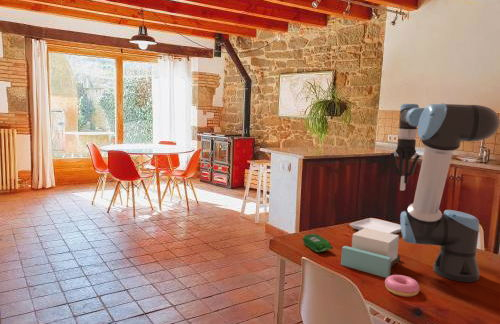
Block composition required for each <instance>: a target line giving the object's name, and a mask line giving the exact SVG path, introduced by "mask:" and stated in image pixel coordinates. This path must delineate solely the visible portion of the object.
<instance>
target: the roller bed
mask: <svg viewBox="0 0 500 324" xmlns="http://www.w3.org/2000/svg"><path fill="white" fill-rule="evenodd" d="M400 261H401V255H399V254H397V258H396V259H395V260H394V261H392V262H391V268H390V269H392V268H393V266H395V265H396V264H398V262H400Z"/></svg>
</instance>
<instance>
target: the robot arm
mask: <svg viewBox="0 0 500 324" xmlns="http://www.w3.org/2000/svg"><path fill="white" fill-rule="evenodd" d="M499 128H500V117H499V114H498V113H497V112H496V111H495V110H493V109H492V108H490V107H487V106H485V105H480V104H454V103H453V104H451V103H445V102H444V103H431V104H428V105H427V106H425V108H421V107H420V106H419V104H418V103H402V104H401V106H400V110H399V124H398V132H397V133H398V134H397V135H398V139H397V145H396V149H395V151H393V152H390V156H391V158H392V164H393V169H394V173H395V175H397V176H398V183H400V184H399V191H405V190H406V184H408V183H409V177H410V176H413V175H414V173H415V170H416V167H417V165H418V162H419V160H420V158H422V160H421V165H420V170H419V175H418V179H417V184H416V189H415V193H414V199H413V202H412V203H410V204H409V205H408V207H407V210H403V211H401V213H400V215H399V216H400V217H399V218H400V219H399V221H400V224H399V225H401V231H400V233H401V237H402V239H403V241H404V242H406V243H408V244H414V245H424V246H425V245H426V246H427V245H428V246H440V249H439V252H438V254H437V257H436V259H435V260H434V263H433V272H434V273H435V274H437V275H438V276H440V277H443V278H445V279H448V280H451V281H456V282H462V283H472V282H477V281H478V280H479V279H480V269H479V266H478V262H477V261H478V260H477V258H476V254H477V250H478V249H477V247H478V241H479V240H478V239H479V233H480V221H479V219H478V218H477V217H476V216H474V215H473V214H469V213H466V212H463V211H458V210H452V209H445V210H444V211H443V213H442V211H441V210H440V209H439V208H440V205H441V201H442V199H443V198H442V197H443V193H444V189H445V185H446V181H447V177H448V174H449V169H450V165H451V161H452V157H453V154H454V153H453V152H455V151H457V150H459V148H460V147H461V143H462V142H478V141H479V142H480V141H481V142H482V141H484V140H486V139H489V138H490V137H492V136H494V135H495V134H496V133H497V131H498V130H499ZM417 136H418V139H420V140H421V144H422V145H423V147H424V150H423V155H421V154H418V153H417V150H416V142H417V140H416V138H417ZM397 156H398V157H399V162H398V157H397ZM412 158H414V159H413V161H412V163H411V159H412ZM411 164H412V165H411Z"/></svg>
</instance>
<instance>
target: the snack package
mask: <svg viewBox="0 0 500 324" xmlns="http://www.w3.org/2000/svg"><path fill="white" fill-rule="evenodd" d="M301 240H302V241H303V244H304V245H305V246H306V247H308V248H309V249H311V250H312V251H314V252H316V253H322V252H326V251H328V250H333V249H334V246H332V245H331V243H330V242H329V240H328V239H327V238H324V237H323V236H321V235H319V234H318V233H310V234H306V235H305V234H304V236H303V237H302V239H301Z"/></svg>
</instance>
